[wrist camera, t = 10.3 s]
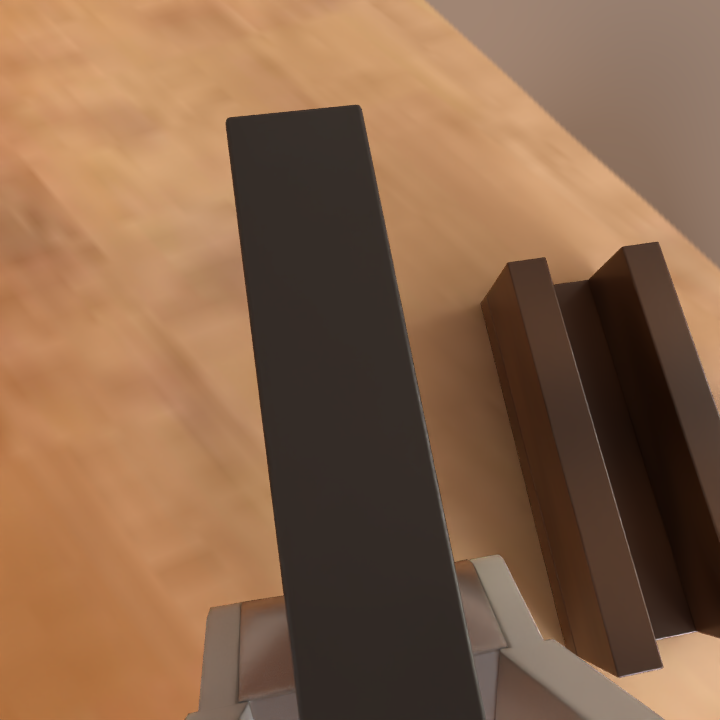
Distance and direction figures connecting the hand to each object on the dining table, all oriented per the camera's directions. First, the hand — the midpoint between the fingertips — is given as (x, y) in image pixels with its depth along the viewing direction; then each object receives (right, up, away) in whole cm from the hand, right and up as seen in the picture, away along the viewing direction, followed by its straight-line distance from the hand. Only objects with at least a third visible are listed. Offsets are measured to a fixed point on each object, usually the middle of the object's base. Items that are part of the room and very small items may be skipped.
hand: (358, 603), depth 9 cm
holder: (+9, 0, +14) cm, 17 cm away
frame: (-1, +1, +6) cm, 6 cm away
